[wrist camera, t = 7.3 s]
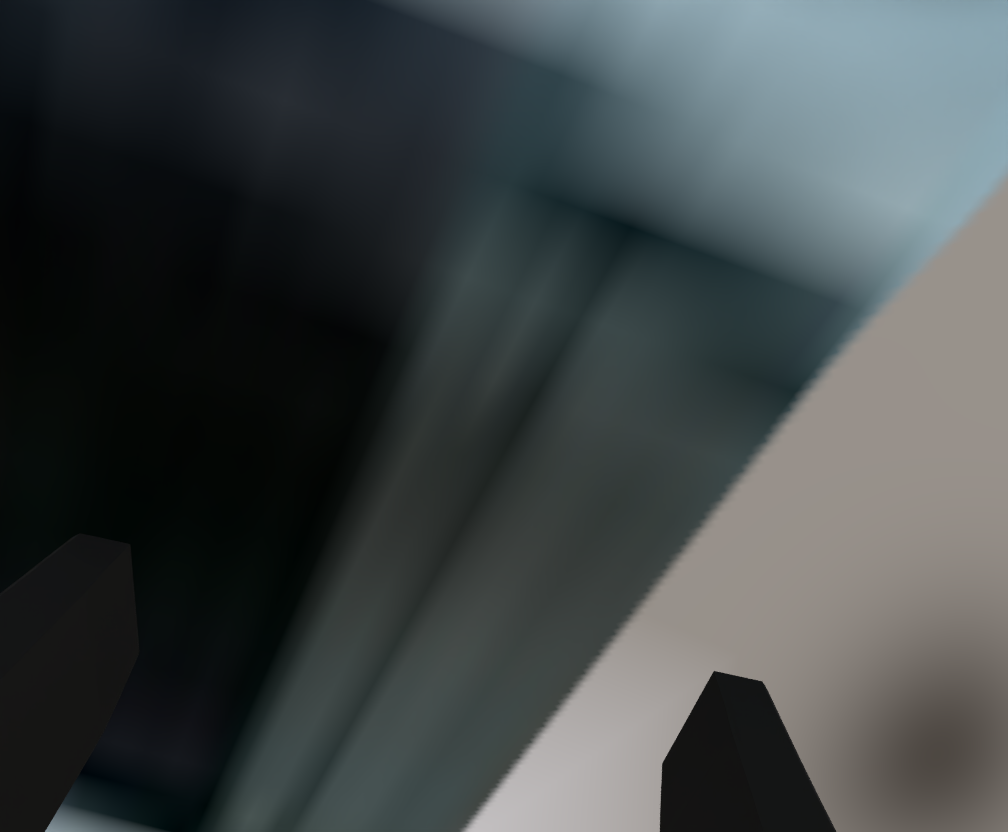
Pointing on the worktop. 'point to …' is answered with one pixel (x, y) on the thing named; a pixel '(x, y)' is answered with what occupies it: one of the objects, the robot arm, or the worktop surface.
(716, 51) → the worktop surface
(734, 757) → the robot arm
